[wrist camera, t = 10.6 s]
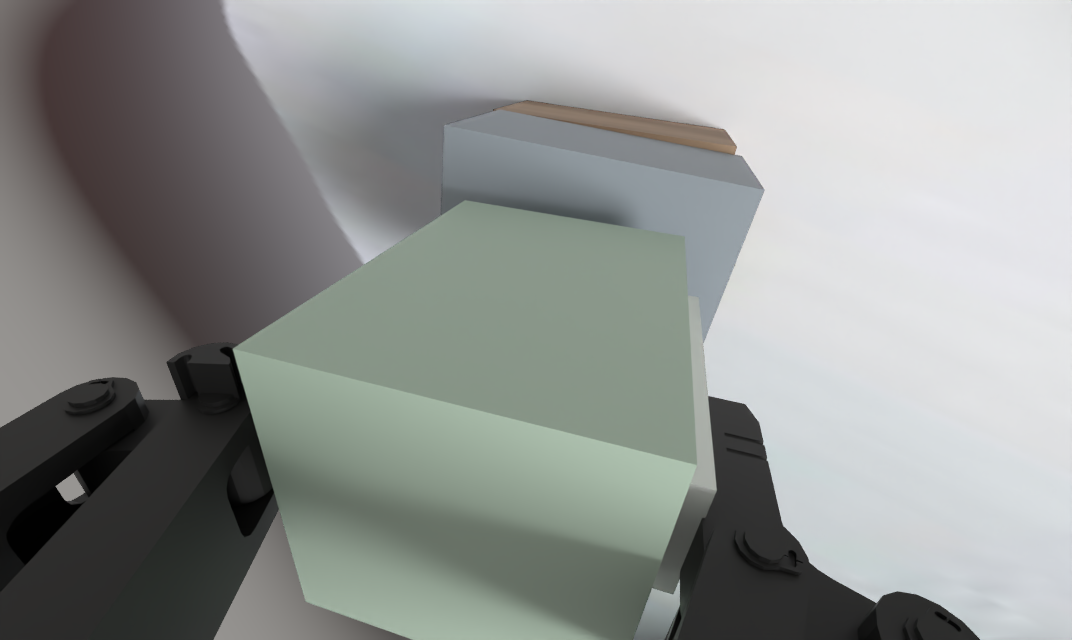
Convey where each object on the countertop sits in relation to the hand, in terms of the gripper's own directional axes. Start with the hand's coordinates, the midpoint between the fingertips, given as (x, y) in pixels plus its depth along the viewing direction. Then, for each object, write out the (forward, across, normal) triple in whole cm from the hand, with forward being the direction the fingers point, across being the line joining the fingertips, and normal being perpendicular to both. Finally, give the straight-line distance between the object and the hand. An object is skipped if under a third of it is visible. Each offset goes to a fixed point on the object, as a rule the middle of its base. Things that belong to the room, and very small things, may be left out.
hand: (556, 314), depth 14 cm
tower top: (+7, 0, 0) cm, 7 cm away
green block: (0, 0, 0) cm, 0 cm away
